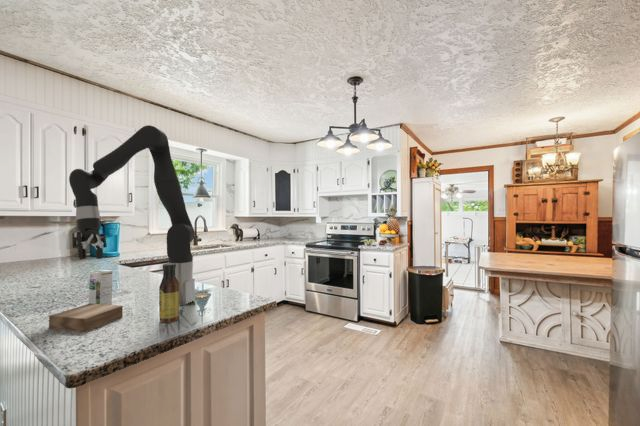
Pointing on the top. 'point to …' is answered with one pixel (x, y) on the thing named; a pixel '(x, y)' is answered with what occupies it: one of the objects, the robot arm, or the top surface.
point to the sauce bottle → (169, 294)
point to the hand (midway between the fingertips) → (91, 258)
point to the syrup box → (100, 287)
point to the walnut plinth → (85, 317)
